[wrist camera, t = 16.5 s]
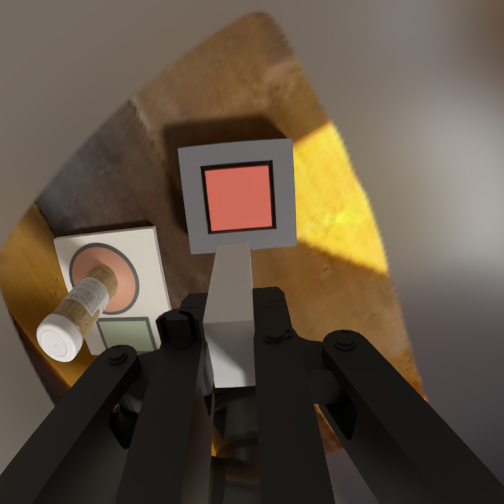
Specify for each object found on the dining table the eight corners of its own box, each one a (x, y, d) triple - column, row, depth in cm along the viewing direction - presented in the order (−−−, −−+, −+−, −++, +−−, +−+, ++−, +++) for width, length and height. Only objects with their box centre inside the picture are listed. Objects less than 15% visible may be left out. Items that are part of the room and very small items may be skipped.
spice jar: (104, 302, 38) (60, 370, 26) (81, 276, 37) (27, 337, 24) (126, 284, 37) (83, 352, 25) (102, 257, 36) (48, 316, 23)
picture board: (181, 351, 42) (180, 356, 41) (93, 350, 42) (91, 355, 41) (154, 225, 36) (152, 228, 35) (57, 237, 36) (52, 240, 35)
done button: (269, 218, 35) (271, 226, 32) (214, 222, 35) (211, 230, 32) (266, 162, 33) (268, 166, 30) (208, 167, 33) (205, 171, 30)
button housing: (292, 235, 37) (296, 245, 33) (195, 242, 37) (191, 254, 33) (287, 137, 33) (292, 138, 29) (184, 146, 33) (177, 148, 29)
